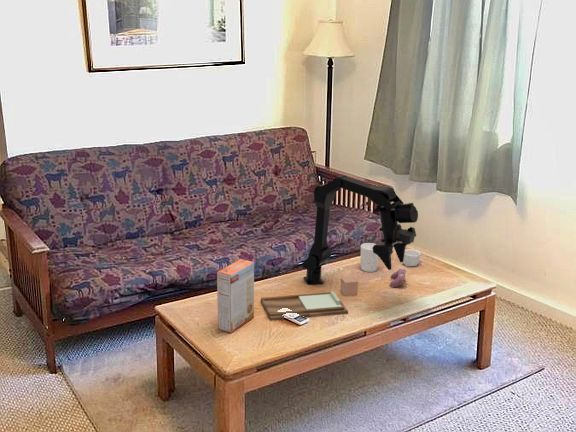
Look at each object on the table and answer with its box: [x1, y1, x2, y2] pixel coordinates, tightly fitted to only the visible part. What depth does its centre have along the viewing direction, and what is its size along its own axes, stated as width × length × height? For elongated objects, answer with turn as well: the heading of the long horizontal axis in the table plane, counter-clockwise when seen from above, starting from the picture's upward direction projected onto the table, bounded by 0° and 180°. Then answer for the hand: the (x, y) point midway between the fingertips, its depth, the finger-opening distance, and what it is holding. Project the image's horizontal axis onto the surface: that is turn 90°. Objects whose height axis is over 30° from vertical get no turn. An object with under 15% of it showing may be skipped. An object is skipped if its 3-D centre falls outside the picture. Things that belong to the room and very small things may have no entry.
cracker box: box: [216, 258, 255, 334], centre depth 228 cm, size 14×6×21 cm, turn 150°
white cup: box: [360, 242, 380, 273], centre depth 280 cm, size 8×8×10 cm
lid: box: [299, 291, 342, 310], centre depth 246 cm, size 11×13×2 cm
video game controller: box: [389, 267, 407, 288], centre depth 267 cm, size 10×5×7 cm, turn 168°
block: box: [339, 276, 359, 297], centre depth 258 cm, size 5×5×6 cm
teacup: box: [402, 249, 422, 267], centre depth 287 cm, size 10×8×5 cm
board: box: [260, 291, 349, 321], centre depth 245 cm, size 16×28×2 cm, turn 104°
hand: (395, 265), depth 244 cm, fingers open, 9 cm apart
